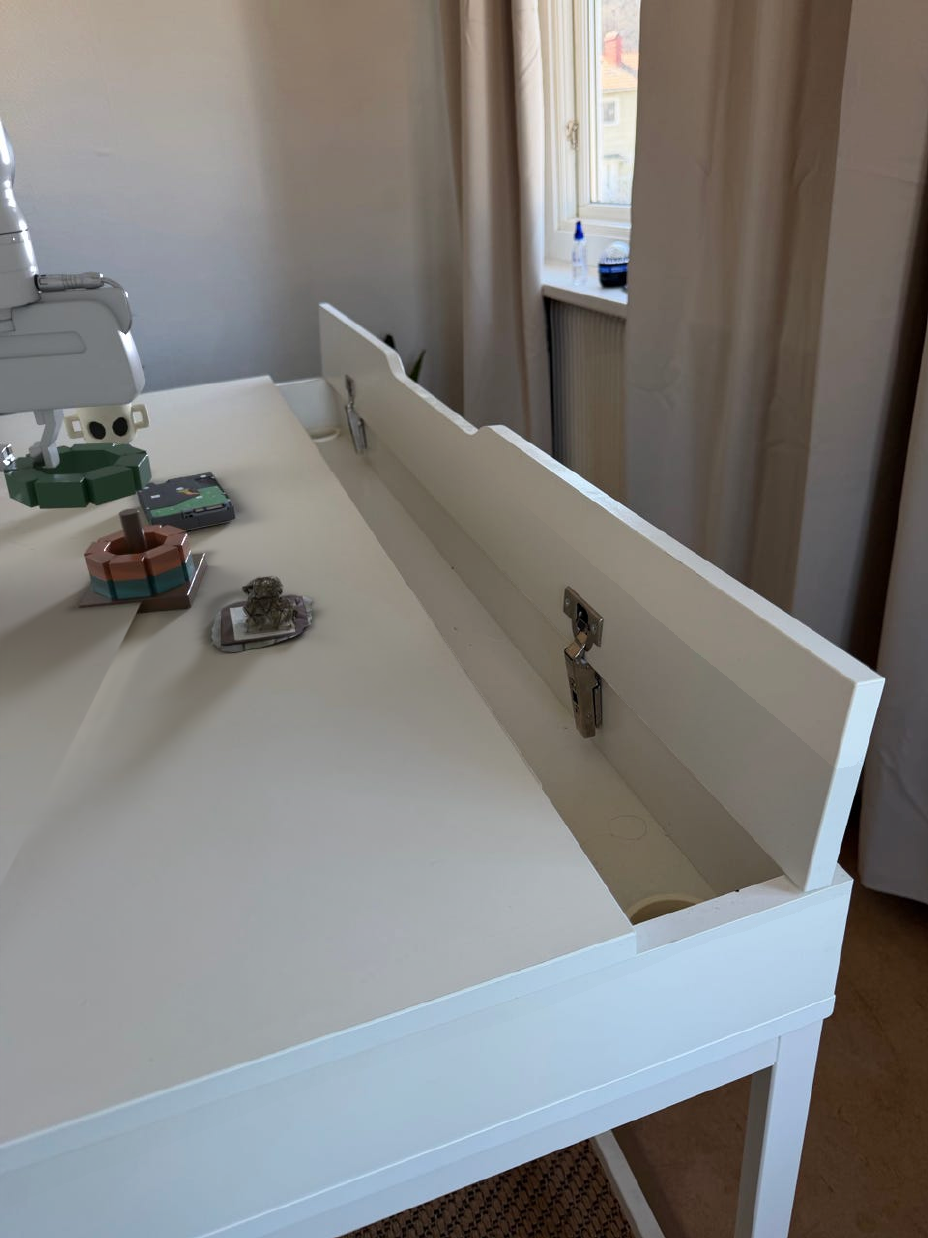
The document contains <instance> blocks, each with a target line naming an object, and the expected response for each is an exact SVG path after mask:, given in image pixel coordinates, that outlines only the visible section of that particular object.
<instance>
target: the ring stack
mask: <svg viewBox="0 0 928 1238" xmlns="http://www.w3.org/2000/svg"><path fill="white" fill-rule="evenodd" d="M118 517H119V522H120V526H121V530H118V531H115V532H113V533H110V534H107V535H105V536H102V537H99V538H97V539H96V541H92V542H90V545H89V546H88V547H87V549H86V550H85V552H84V553H83V556H84V560H85V563H86V567H87V571H88V574H89V578H90V581H91V585H90V586H89V588H88V589H87V592H86V593H85V594H84V596H83V598H82V600H81V601H80V603H79V604H78V608H79V609H83V608H93V607H103V606H104V607H105V606H111V605H112V606H113V605H114V606H115V605H122V604H132V603H140V605H139V606H138V608H137V611H136V614H140V613H150V612H161V611H162V612H163V611H171V610H179V609H181V610H182V609H190V608H192V606H193V603H194V600H195V597H196V595H197V593H198V590H199V587H200V584H201V583H202V580H203V577H204V575H205V571H206V569H207V567H208V562H207V557H206V553H205V552H201V553H192V550H191V549H192V548H191V545H190V540H189V535H188V533H187V531H185V530H181V529H178V528H175V527H172V526H169V525H166V526H164V527H162V525H153V526H149V525H143V522H142V518H141V514H140V510H139V509H138V508H126V509H123V510H121V511H119V512H118Z"/></svg>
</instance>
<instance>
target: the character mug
mask: <svg viewBox="0 0 928 1238" xmlns="http://www.w3.org/2000/svg"><path fill="white" fill-rule="evenodd" d="M75 411H76V413H71V414H67V415H64V419H63V424H64V427H65V430H66V435H67V437H68V438H69V439H70V440H78V439H82V438H83V441H84V442H85V443H116V445H118V444H123V443H124V444H127V445H130V446H133V445H132V444H130V443H131V442H134V441H135V440H136V439H137V438H138V432H139V431H138V430H140V429H147V428H149V427H150V426H151V420H150V415H149V412H148V407H147V405H146V404H145V403H141V404H132V402H131V403H129V404H124V405H111V406H97V407H83V408H75ZM138 412H139V413H140V417H141V420H140V421H136V418H135V414H134V413H138ZM74 422H79V426H80V429H81V430H76V431H75V429H74V424H73V423H74Z"/></svg>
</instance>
